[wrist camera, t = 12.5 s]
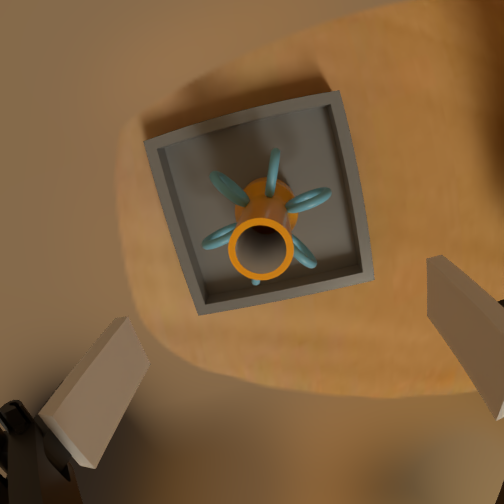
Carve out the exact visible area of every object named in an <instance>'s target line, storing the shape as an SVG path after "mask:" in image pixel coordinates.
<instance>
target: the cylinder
mask: <svg viewBox="0 0 504 504" xmlns="http://www.w3.org/2000/svg"><path fill="white" fill-rule="evenodd" d="M279 161H280V150H279V149H278V148H273V149H272V150H271V155H270V161H269V168H268V175H267V177H262V178H258V179H256V180H254V181H252V182H250V183H249V184H248V185H247V186H246V187H245V188H244V189H243V190H242V188H241V187H240V186H238V185H237V184H236V183H235V182H234V181H233V180H231V179H230V178H229V177H227V176H226V175H224V174H223V173H221V172H219V171H212V172H211V173H210V175H209V178H210V181H211V182H212V184H213V185H214V186H215V187H216V189H217V190H218V191H219V192H220V193H222V194H223V195H224V196H225V197H226V198H227V199H229V200H230V201H232V202H233V203H235V204H236V205H235V219H236V223H233V224H230V225H227V226H225V227H223V228H221V229H219V230H217V231H215V232H213V233H211V234H210V235H208V236H207V237H206V238H205V239H204V240H203V241H202V243H201V245H202V248H204V249H206V250H210V249H214V248H217V247H220V246H222V245H225V244H227V243H229V244H228V253H229V258H230V260H231V262H232V264H233V266H234V267H235V268H236V270H237V271H238V272H240V273H241V274H242V275H244V276H246V277H248V278H250V279H252V281H251V282H252V284H253V285H258V284H259V283H260V280H269V279H272V278H275V277H277V276H279V275H280V274H282V273H283V272H284V271H285V270H286V269H287V268H288V267H289V265H290V263H291V261H292V258H293V257H294V258H295V259H297V260H298V261H299V262H300V263H301V264H303V265H304V266H306V267H308V268H315V267H316V265H317V261H316V258H315V257H314V255H313V254H312V252H311V251H310V250H309V249H308V248H307V247H306V246H305V245H304V244H303V243H302V242H301V241H300V240H299V239H298V238H297V237H296V236H294V235H293V234H292V233H291V231H292V230H293V229H294V227H295V225H296V223H297V219H298V212H302V211H305V210H308V209H311V208H313V207H316V206H318V205H320V204H322V203H323V202H325V201H326V200H328V199H329V198H330V196H331V194H332V191H331V189H330V188H328V187H321V188H316V189H313V190H310V191H307V192H305V193H302V194H300V195H298V196H296V197H295V196H294V193H293V192H292V190H291V188H290V187H289V186H288V185H287V184H286V183H284V182H283V181H281V180H279V179H277V174H278V168H279Z"/></svg>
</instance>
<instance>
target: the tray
mask: <svg viewBox="0 0 504 504" xmlns="http://www.w3.org/2000/svg"><path fill="white" fill-rule="evenodd" d="M143 142H144V145H145V149H146V153H147V157H148V160H149V164H150V167H151V171H152V174H153V178H154V181H155V185H156V188H157V192H158V195H159V198H160V202H161V205H162V208H163V212H164V215H165V218H166V221H167V225H168V228H169V231H170V234H171V237H172V240H173V243H174V246H175V249H176V253H177V256H178V259H179V262H180V265H181V267H182V270H183V273H184V276H185V279H186V282H187V285H188V288H189V291H190V293H191V296H192V299H193V302H194V305H195V307H196V310H197V313H198V316H199V315H205V314H211V313H216V312H222V311H228V310H233V309H239V308H244V307H250V306H255V305H260V304H265V303H270V302H276V301H281V300H286V299H291V298H295V297H300V296H305V295H310V294H315V293H319V292H324V291H328V290H333V289H337V288H342V287H346V286H351V285H355V284H359V283H364V282H368V281H372V280H375V279H374V270H373V261H372V253H371V245H370V238H369V231H368V224H367V218H366V212H365V205H364V200H363V194H362V188H361V183H360V178H359V172H358V167H357V162H356V158H355V153H354V148H353V144H352V139H351V135H350V130H349V126H348V122H347V118H346V114H345V110H344V106H343V102H342V98H341V95H340V91H339V90H338V91H332V92H326V93H320V94H315V95H309V96H304V97H299V98H294V99H289V100H285V101H280V102H275V103H271V104H267V105H262V106H258V107H254V108H250V109H246V110H242V111H238V112H235V113H231V114H227V115H224V116H220V117H217V118H213V119H210V120H206V121H203V122H200V123H196V124H193V125H190V126H187V127H184V128H181V129H178V130H175V131H172V132H169V133H166V134H163V135H160V136H157V137H154V138H151V139H149V140H146V141H143ZM273 148H278V149H279V150H280V161H279V168H278V174H277V179H279V180H281V181H283V182H284V183H286V184H287V185H288V186H289V187H290V188H291V190H292V192H293V193H294V196H295V197H296V196H298V195H300V194H302V193H305V192H307V191H310V190H313V189H316V188H321V187H328V188H330V189H331V191H332V194H331V196H330V198H329V199H328V200H326V201H325V202H323V203H322V204H320V205H318V206H316V207H313V208H311V209H308V210H305V211H302V212H298V219H297V223H296V225H295V227H294V229H293V230H292V231H291V233H292V234H293V235H294V236H296V237H297V238H298V239H299V240H300V241H301V242H302V243H303V244H304V245H305V246H306V247H307V248H308V249H309V250H310V251H311V252H312V254H313V255H314V257H315V258H316V261H317V265H316V267H315V268H308V267H306V266H304V265H303V264H301V263H300V262H299V261H298V260H297V259H295V258H294V257H293V258H292V261H291V263H290V265H289V267H288V268H287V269H286V270H285V271H284V272H283V273H282V274H280V275H279V276H277V277H275V278H272V279H269V280H260V283H259V284H258V285H253V284H252V282H251V281H252V279H250V278H248V277H246V276H244V275H242V274H241V273H240V272H238V271H237V270H236V268H235V267H234V266H233V264H232V262H231V260H230V258H229V253H228V244H229V243H227V244H225V245H222V246H220V247H217V248H214V249H210V250H206V249H204V248H202V245H201V243H202V241H203V240H204V239H205V238H206V237H207V236H208V235H210V234H211V233H213V232H215V231H217V230H219V229H221V228H223V227H225V226H227V225H230V224H233V223H236V219H235V205H236V204H235V203H233V202H232V201H230V200H229V199H227V198H226V197H225V196H224V195H223V194H222V193H220V192H219V191H218V190H217V189H216V187H215V186H214V185H213V184H212V182H211V181H210V178H209V175H210V173H211V172H212V171H219V172H221V173H223V174H224V175H226V176H227V177H229V178H230V179H231V180H233V181H234V182H235V183H236V184H237V185H238V186H240V187H241V188H242V190H243V189H244V188H245V187H246V186H247V185H248V184H249V183H250V182H252V181H254V180H256V179H258V178H262V177H267V175H268V168H269V161H270V155H271V150H272V149H273Z"/></svg>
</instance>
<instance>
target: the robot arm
mask: <svg viewBox="0 0 504 504" xmlns="http://www.w3.org/2000/svg"><path fill="white" fill-rule="evenodd" d="M427 316H428V318H429V319H430V320H431V322H432V323H433V324H434V326H435V327H436V329H437V330H438V331H439V333H440V334H441V336H442V337H443V338H444V340H445V341H446V343H447V344H448V346H449V347H450V349H451V350H452V352H453V353H454V354H455V356H456V357H457V359H458V360H459V362H460V363H461V365H462V366H463V368H464V370H465V371H466V373H467V374H468V376H469V377H470V379H471V380H472V382H473V384H474V385H475V387H476V388H477V390H478V392H479V393H480V395H481V396H482V398H483V400H484V401H485V403H486V404H487V406H488V408H489V410H490V411H491V413H492V414H493V417H494V418H495V420H496V421H497V420H499V419H501V418H503V417H504V300H501V301H498V302H497V301H496V300H495V299H494V298H493V297H491V296H490V295H489V294H488V293H487V292H486V291H485V290H484V289H482V288H481V287H480V286H479V285H478V284H477V283H476V282H474V281H473V280H472V279H471V278H470V277H469V276H467V275H466V274H465V273H464V272H463V271H461V270H460V269H459V268H458V267H457V266H455V265H454V264H453V263H452V262H450V261H449V260H448V259H447V258H446V257H444V256H443V255H439V256H435V257H431V258H427ZM149 366H150V362H149V360H148V358H147V356H146V354H145V352H144V350H143V348H142V345H141V343H140V341H139V339H138V337H137V335H136V332H135V330H134V328H133V326H132V324H131V321H130V319H129V317H128V316H127V317H121V318H115V319H114V320H113V321H112V323H111V324H110V325H109V326H108V327H107V329H106V330H105V331H104V332H103V333H102V334H101V336H100V337H99V338H98V339H97V340H96V342H95V343H94V344H93V345H92V346H91V348H90V349H89V350H88V351H87V352H86V354H85V355H84V356H83V357H82V359H81V360H80V361H79V362H78V364H77V365H76V366H75V367H74V368H73V370H72V371H71V372H70V374H69V375H68V376H67V377H66V378H65V380H63V381H62V382H61V384H60V385H59V386H58V388H57V389H56V391H55V392H54V393H53V394H52V395H51V398H49V399H48V401H47V402H46V403H45V404H44V406H43V407H42V408H41V409H40V411H39V412H38V414H37V415H36V416H35V417H34V419H33V418H32V416H31V415H30V413H29V412H28V411H27V409H26V408H25V407H24V405H23V404H22V402H21V401H19V400H13V401H10V402H8V403H6V404H4V405H3V406H2V407H1V408H0V423H1V424H2V426H3V427H4V428H5V429H6V431H3V430H2V429H1V428H0V467H1V468H2V469H3V470H4V471H5V472H6V473H7V477H6V478H4V477H3V476H2V475H1V474H0V504H83V502H82V499H81V495H80V491H79V488H78V484H77V481H76V477H75V473H74V469H73V467H72V465H71V464H70V463H69V459H70V457H71V456H72V457H73V458H74V459H75V460H76V461H77V462H78V463H79V465H81V466H85V467H89V468H94V469H95V468H96V466H97V465H98V463H99V461H100V459H101V457H102V455H103V453H104V451H105V449H106V447H107V445H108V443H109V441H110V439H111V437H112V435H113V433H114V431H115V429H116V427H117V426H118V424H119V422H120V420H121V418H122V416H123V414H124V412H125V410H126V408H127V407H128V405H129V403H130V401H131V399H132V397H133V395H134V394H135V392H136V390H137V388H138V386H139V384H140V382H141V381H142V379H143V377H144V375H145V373H146V371H147V370H148V367H149ZM495 504H504V482H503V485H502V487H501V490H500V493H499V495H498V498H497V500H496V503H495Z"/></svg>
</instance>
